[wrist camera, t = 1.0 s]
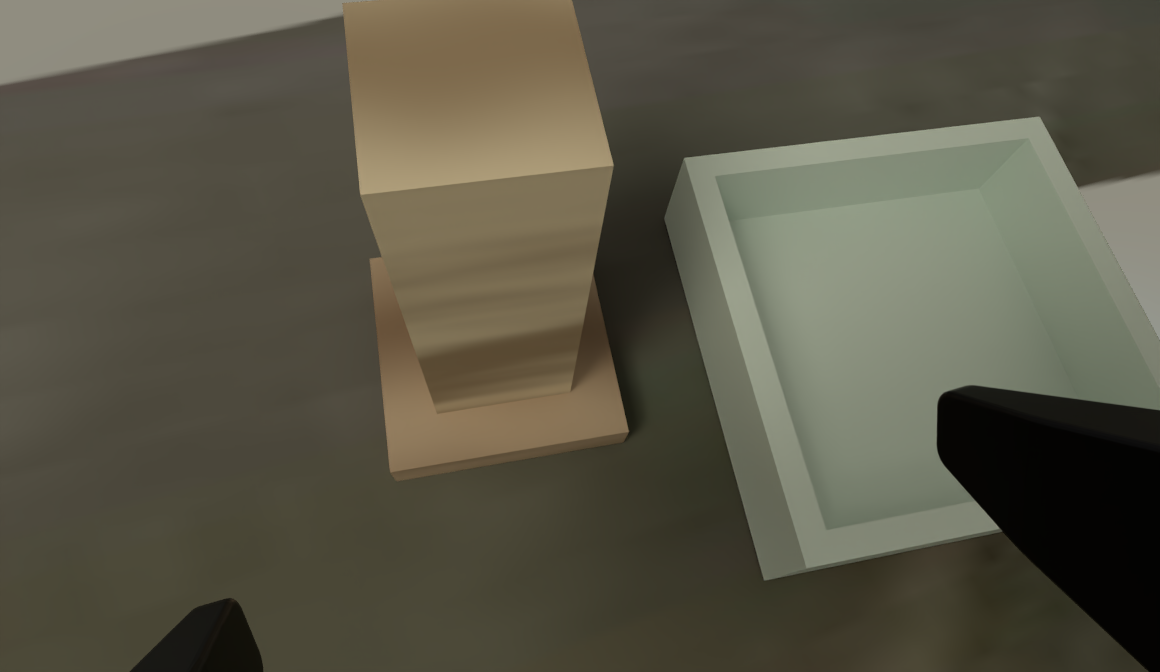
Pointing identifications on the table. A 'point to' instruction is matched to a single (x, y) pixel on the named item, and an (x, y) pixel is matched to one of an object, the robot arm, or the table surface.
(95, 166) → the table surface
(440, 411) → the wooden block tower
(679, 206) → the box
